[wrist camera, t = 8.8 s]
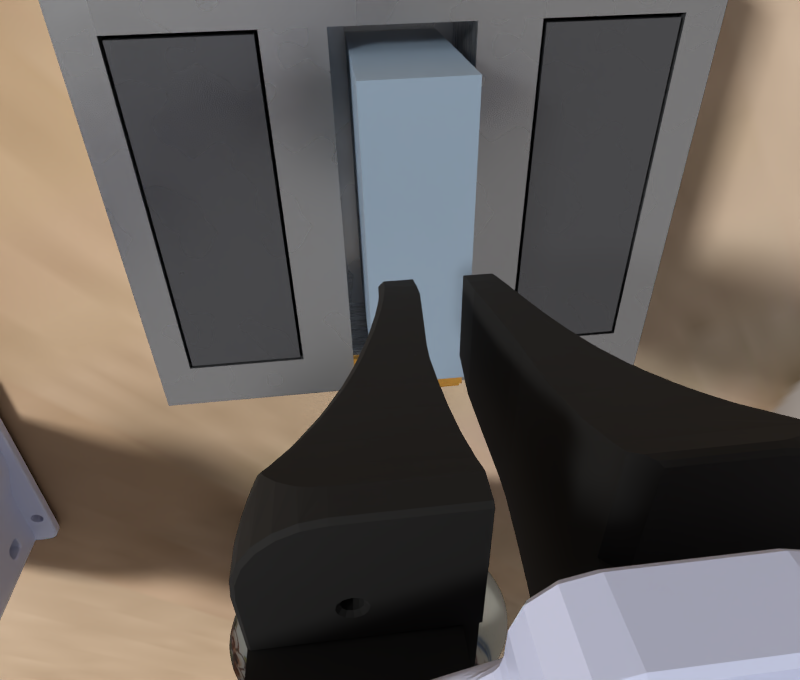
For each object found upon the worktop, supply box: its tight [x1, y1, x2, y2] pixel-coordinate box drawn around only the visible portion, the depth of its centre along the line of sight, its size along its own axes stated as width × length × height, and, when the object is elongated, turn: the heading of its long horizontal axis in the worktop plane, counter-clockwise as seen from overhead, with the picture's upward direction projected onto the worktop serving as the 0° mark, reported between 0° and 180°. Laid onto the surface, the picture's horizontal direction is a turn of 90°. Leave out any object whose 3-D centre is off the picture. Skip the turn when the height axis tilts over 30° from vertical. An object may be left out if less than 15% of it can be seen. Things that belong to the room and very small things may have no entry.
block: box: [344, 28, 482, 379], centre depth 17 cm, size 8×3×6 cm, turn 1°
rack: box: [39, 0, 728, 406], centre depth 19 cm, size 13×16×4 cm
